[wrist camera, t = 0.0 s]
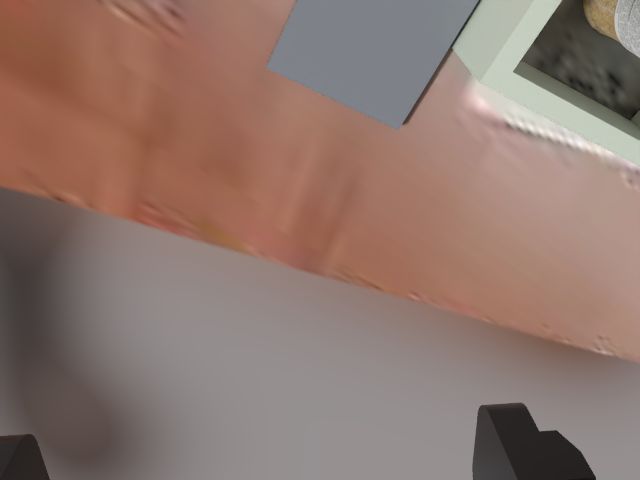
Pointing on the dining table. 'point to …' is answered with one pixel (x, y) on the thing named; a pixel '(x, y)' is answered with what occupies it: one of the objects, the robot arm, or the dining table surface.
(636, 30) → the sprinkles bottle
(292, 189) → the dining table surface
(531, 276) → the dining table surface
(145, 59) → the dining table surface
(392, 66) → the coaster
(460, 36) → the crate
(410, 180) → the dining table surface
